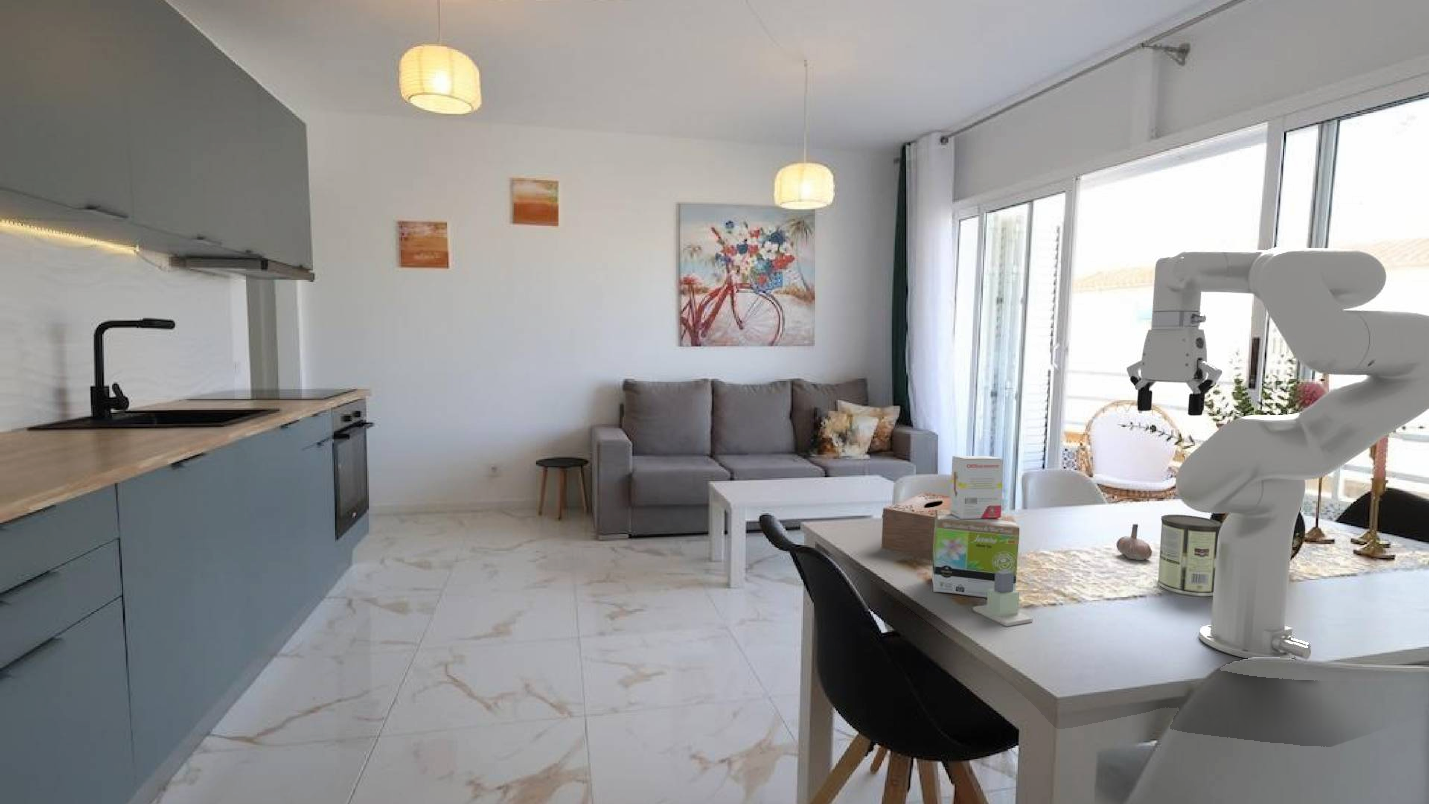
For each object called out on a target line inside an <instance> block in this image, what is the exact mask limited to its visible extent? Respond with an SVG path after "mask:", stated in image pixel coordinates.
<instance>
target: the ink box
mask: <svg viewBox="0 0 1429 804" xmlns="http://www.w3.org/2000/svg"><path fill="white" fill-rule="evenodd" d="M1003 470H1004V460H1003V459H1002V458H1001V457H996V456H991V455H952V462H951V475H950V476H951V479H950V495H949V496H950V513H951V514H952V515H954V516H957V517H959V518H960V519H983V518H1001V515H1002V500H1003V499H1002V498H1003V497H1002V496H1003V475H1004V474H1003V473H1004V471H1003Z"/></svg>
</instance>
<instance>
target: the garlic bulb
mask: <svg viewBox="0 0 1429 804" xmlns="http://www.w3.org/2000/svg"><path fill="white" fill-rule="evenodd" d="M1138 529H1139V524H1138V523H1133V524H1132V529H1131V534H1130V536H1122V537H1120V538H1118V540H1117V541H1116V549H1117V551H1119V552H1120V553H1121V554H1122V555H1124V556H1125V557H1126V558H1128V559H1129V560H1135V559H1137V560H1136V561H1144V559H1146V560H1148V559H1150V558H1151V557H1152V555H1153V551H1152V548H1151V546H1150V545H1149V544H1148V543H1147V542H1146V541H1145V540H1143V539H1141V538H1137V537H1138Z"/></svg>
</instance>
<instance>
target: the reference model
mask: <svg viewBox="0 0 1429 804" xmlns="http://www.w3.org/2000/svg"><path fill="white" fill-rule="evenodd" d="M1013 582H1014V572H1011V571H1008V570H1003V571H996V572H995V584H994V589H988V595H987V600H986V604H984V605H977V606H973V607H972V611H974V612H976V613H978V614H980V615H982V616H984V617H986V618H988V619H990V620H993V621H995V622H996V623H998V624H1001V625H1003V626H1005V627H1009V626H1010V627H1011V626H1016V625H1017V626H1018V625H1021V624H1028V623H1032V622H1033V621H1034V620H1033V618H1032V617H1031V616H1028V615H1025V614H1024V613H1021V612H1019V610H1020V609H1019V608H1020V591H1017V590H1016V589H1015V590H1013Z"/></svg>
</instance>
